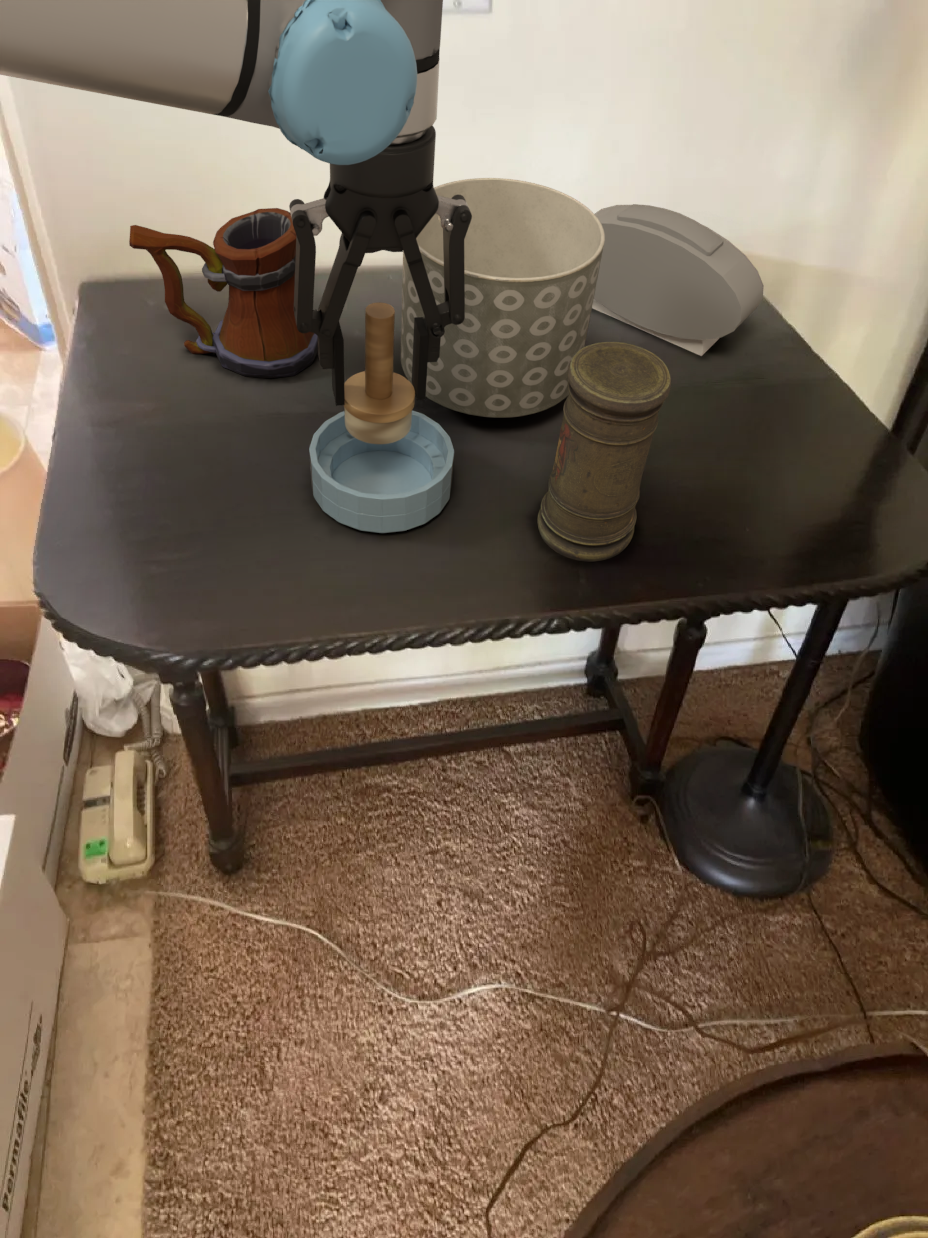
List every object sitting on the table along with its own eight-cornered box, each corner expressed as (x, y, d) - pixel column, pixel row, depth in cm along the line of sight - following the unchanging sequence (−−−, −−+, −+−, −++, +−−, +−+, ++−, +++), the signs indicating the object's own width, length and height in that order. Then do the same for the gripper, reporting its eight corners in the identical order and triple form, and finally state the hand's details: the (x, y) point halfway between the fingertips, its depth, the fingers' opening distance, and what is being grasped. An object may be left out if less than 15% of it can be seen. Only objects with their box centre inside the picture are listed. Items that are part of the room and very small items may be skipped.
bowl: (321, 545, 88) (318, 505, 84) (305, 451, 96) (302, 410, 92) (463, 531, 90) (467, 491, 86) (435, 440, 98) (438, 400, 94)
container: (647, 522, 93) (694, 363, 79) (604, 578, 87) (647, 419, 74) (565, 484, 95) (597, 324, 82) (519, 536, 90) (545, 375, 76)
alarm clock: (747, 347, 113) (782, 244, 103) (724, 370, 110) (758, 267, 100) (578, 274, 121) (596, 172, 111) (552, 294, 117) (568, 191, 108)
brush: (347, 448, 85) (346, 334, 76) (338, 403, 89) (335, 290, 80) (419, 443, 86) (426, 330, 77) (406, 399, 90) (411, 287, 81)
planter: (581, 347, 111) (610, 192, 97) (567, 453, 98) (599, 292, 84) (417, 323, 111) (423, 165, 98) (384, 425, 99) (385, 262, 85)
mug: (149, 386, 101) (120, 252, 89) (155, 323, 108) (129, 191, 96) (323, 381, 103) (317, 249, 92) (318, 320, 110) (311, 191, 99)
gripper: (503, 97, 72) (476, 361, 89) (237, 99, 68) (263, 374, 85) (529, 142, 67) (495, 411, 85) (245, 147, 63) (270, 428, 81)
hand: (378, 392), depth 85 cm, fingers closed on brush, 6 cm apart
